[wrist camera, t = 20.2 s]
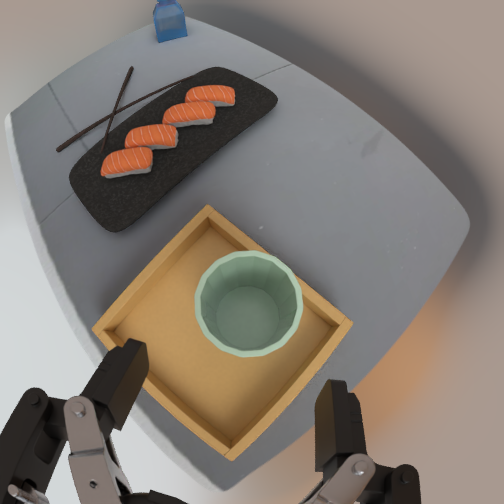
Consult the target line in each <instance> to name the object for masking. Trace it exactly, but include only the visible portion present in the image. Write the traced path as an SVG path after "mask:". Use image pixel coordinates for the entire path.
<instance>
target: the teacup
mask: <svg viewBox="0 0 504 504" xmlns="http://www.w3.org/2000/svg"><path fill="white" fill-rule="evenodd" d="M194 304H195V317H196V319H197V322H198V324H199V326H200V328H201V330H202V332H203V334H204V336H205V337H206V338H207V339H208V340H209V341H211V342H212V343H213V344H214V345H215V346H216V347H217V348H219V349H220V350H221V351H224V352H227V353H230V354H233V355H236V356H239V357H256V356H264V355H267V354H269V353H271V352H273V351H274V350H276V349H278V348H280V347H282V346H283V345H285V344H286V342H287V341H288V340H289V339H290V338H291V336H292V335H293V334H294V333H295V331H296V330H297V329H298V326H299V322H300V319H301V316H302V312H303V299H302V290H301V286H300V285H299V283H298V281H297V279H296V277H295V275H294V274H293V272H292V270H291V269H290V268H289V267H288V266H286V265H285V264H284V263H283V262H281V261H280V260H279V259H278V258H276V257H275V256H272V255H269V254H266V253H263V252H260V251H257V250H249V251H235V252H232V253H230V254H228V255H226V256H224V257H222V258H220V259H217V260H216V261H215V262H214V263H213V264H212V265H211V266H210V267H209V268H208V269H207V270H206V271H205V272H204V273H203V274H202V276H201V278H200V281H199V284H198V286H197V289H196V292H195V294H194Z"/></svg>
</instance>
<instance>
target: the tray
mask: <svg viewBox="0 0 504 504" xmlns="http://www.w3.org/2000/svg"><path fill="white" fill-rule="evenodd" d="M249 250H257V251H260V252H263V253H266V254H269V253H268V252H267V251H265V250H264V249H263V248H262V247H261V246H259V245H258V244H257V243H256V242H254V241H253V240H252V239H251V238H249V237H248V236H247V235H246V234H244V233H243V232H242V231H241V230H239V229H238V228H237V227H236V226H235V225H233V224H232V223H231V222H230V221H228V220H227V219H226V218H225V217H223V216H222V215H221V214H220V213H218V212H217V211H216V210H214V209H213V208H212V207H211V206H210V205H208V204H207V205H206V206H205V207H204V208H203V209H202V210H201V211H200V212H199V213H198V214H197V215H196V216H195V217H194V218H193V219H192V220H191V221H190V222H189V223H188V224H187V225H186V226H185V227H184V228H183V229H182V230H181V231H180V232H179V233H178V234H177V235H176V236H175V237H174V238H173V239H172V240H171V241H170V242H169V243H168V244H167V245H166V246H165V247H164V248H163V249H162V250H161V251H160V252H159V253H158V254H157V256H156V257H155V258H154V259H153V260H152V261H151V262H150V263H149V264H148V265H147V266H146V267H145V268H144V269H143V271H142V272H141V273H140V274H139V275H138V276H137V277H136V278H135V279H134V280H133V281H132V283H131V284H130V285H129V286H128V287H127V288H126V289H125V290H124V292H123V293H122V294H121V295H120V296H119V297H118V298H117V299H116V301H115V302H114V303H113V304H112V305H111V306H110V308H109V309H108V310H107V311H106V312H105V313H104V315H103V316H102V317H101V318H100V319H99V321H98V322H97V323H96V324H95V325H94V327H93V328H92V330H93V332H94V333H95V334H96V335H97V336H98V338H99V339H100V340H101V341H102V342H103V344H104V345H105V346H106V347H107V348H108V350H109V351H110V350H111V349H113V348H114V347H116V346H120V347H123V346H124V344H125V343H126V341H127V340H128V339H129V338H132V339H136V340H139V341H142V342H145V343H146V345H147V352H148V358H149V371H148V375H147V377H146V379H145V381H144V383H143V385H142V387H143V388H144V389H145V390H146V391H147V392H148V393H149V394H150V395H151V396H152V397H154V398H155V399H156V400H157V401H158V402H159V403H160V404H161V405H162V406H163V407H164V408H165V409H166V410H167V411H169V412H170V413H171V414H172V415H173V416H174V417H175V418H176V419H178V420H179V421H180V422H181V423H182V424H183V425H185V426H186V427H187V428H188V429H189V430H191V431H192V432H193V433H194V434H196V435H197V436H198V437H199V438H201V439H202V440H203V441H204V442H206V443H207V444H208V445H210V446H211V447H212V448H214V449H215V450H216V451H218V452H219V453H220V454H222V455H224V457H226V458H227V459H229V460H230V461H233V460H234V459H235V458H237V457H238V456H239V455H240V454H241V453H242V452H243V451H244V450H245V449H246V448H247V447H248V446H249V445H250V444H251V443H252V442H253V441H255V440H256V439H257V438H258V437H259V436H260V435H261V434H262V433H263V432H264V431H265V430H266V428H267V427H268V426H269V425H270V424H271V423H272V422H273V421H274V420H275V419H276V418H277V417H278V416H279V415H280V414H281V413H282V412H283V411H284V409H285V408H286V407H287V406H288V405H289V404H290V403H291V402H292V401H293V399H294V398H295V397H296V396H297V395H298V394H299V393H300V391H301V390H302V389H303V388H304V387H305V386H306V384H307V383H308V382H309V381H310V380H311V378H312V377H313V376H314V375H315V374H316V372H317V371H318V370H319V369H320V367H321V366H322V365H323V364H324V362H325V361H326V360H327V358H328V357H329V356H330V355H331V353H332V352H333V351H334V349H335V348H336V347H337V345H338V344H339V343H340V341H341V340H342V339H343V337H344V336H345V335H346V333H347V332H348V330H349V329H350V328H351V326H352V325H353V322H352V321H351V320H350V319H349V318H347V317H346V316H345V315H344V314H343V313H341V312H340V311H339V310H338V309H336V308H335V307H334V306H333V305H332V304H330V303H329V302H328V301H327V300H326V299H324V298H323V297H322V296H321V295H319V294H318V293H317V292H316V291H315V290H313V289H312V288H311V287H310V286H308V285H307V284H306V283H305V282H304V281H302V280H301V279H300V278H299V277H297V276H296V275H295V274H294V273H293V274H294V275H295V277H296V279H297V281H298V283H299V285H300V286H301V290H302V299H303V312H302V316H301V319H300V322H299V326H298V329H297V330H296V331H295V333H294V334H293V335H292V336H291V338H290V339H289V340H288V341H287V342H286V344H285V345H283V346H282V347H280V348H278V349H276V350H274V351H273V352H271V353H269V354H267V355H264V356H256V357H239V356H236V355H233V354H230V353H227V352H224V351H221V350H220V349H219V348H217V347H216V346H215V345H214V344H213V343H212V342H211V341H209V340H208V339H207V338H206V337H205V336H204V334H203V332H202V330H201V328H200V326H199V324H198V322H197V319H196V317H195V304H194V294H195V292H196V289H197V286H198V284H199V281H200V278H201V276H202V274H203V273H204V272H205V271H206V270H207V269H208V268H209V267H210V266H211V265H212V264H213V263H214V262H215V261H216V260H217V259H220V258H222V257H224V256H226V255H228V254H230V253H232V252H235V251H249ZM269 255H270V254H269Z"/></svg>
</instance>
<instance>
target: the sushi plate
mask: <svg viewBox="0 0 504 504" xmlns="http://www.w3.org/2000/svg"><path fill="white" fill-rule="evenodd" d="M132 71H133V66H132V67H130V69H129V71H128V73H127V76H126V78H125V80H124V83H123V85H122V88H121V91H120V93H119V96H118V99H117V101H116V104H115V107H114V110H113V113H111V114H110V115H108V116H106V117H104V118H102V119H101V120H99V121H97V122H96V123H94V124H92V125H91V126H89V127H87V128H86V129H84V130H83V131H81V132H79V133H78V134H76V135H75V136H73V137H72V138H70V139H69V140H67V141H66V142H65V143H63V144H62V145H60V146H59V147H58V148H57V149H56V151H57V152H59V151H61V150H62V149H64V148H65V147H66V146H68V145H69V144H71V143H72V142H74V141H75V140H76V139H78V138H79V137H81V136H82V135H84V134H85V133H87V132H88V131H90V130H91V129H93V128H95V127H96V126H98V125H99V124H101V123H103V122H104V121H106V120H107V119H109V118H110V121H109V124H108V127H107V130H106V134H105V137H104V138H102V139H101V140H100V141H99V142H98V143H97V144H95V145H94V146H93V147H92V148H91V149H90V150H89V151H88V152H87V153H86V154H84V155H83V156H82V157H81V158H80V159H79V161H78V162H77V163H76V164H75V165H74V167H73V168H72V170H71V172H70V175H69V180H70V184H71V186H72V188H73V190H74V192H75V193H76V195H77V196H78V198H79V199H80V200H81V202H82V203H83V205H84V206H85V207H86V209H87V210H88V211H89V213H90V214H91V215H92V216H93V217H94V219H95V220H96V221H97V222H98V223H99V224H100V225H101V226H102V227H104V228H105V229H106V230H108V231H111V232H118V231H121V230H123V229H125V228H127V227H128V226H130V225H131V224H133V223H134V222H135V221H136V220H137V219H139V218H140V217H141V216H142V215H143V214H144V213H145V212H147V211H148V210H149V209H150V208H151V207H152V206H153V205H154V204H155V203H156V202H158V201H159V200H160V199H161V198H162V197H163V196H164V195H165V194H166V193H168V192H169V191H170V190H171V189H172V188H173V187H174V186H175V185H177V184H178V183H179V182H180V181H181V180H182V179H184V178H185V177H186V176H187V175H188V174H189V173H191V172H192V171H193V170H194V169H195V168H197V167H198V166H199V165H200V164H201V163H203V162H204V161H205V160H206V159H208V158H209V157H210V156H211V155H212V154H214V153H215V152H216V151H218V150H219V149H220V148H221V147H223V146H224V145H225V144H227V143H228V142H229V141H230V140H232V139H233V138H234V137H236V136H237V135H238V134H240V133H241V132H242V131H244V130H245V129H246V128H248V127H249V126H251V125H252V124H253V123H255V122H256V121H257V120H259V119H260V118H261V117H263V116H264V115H265V114H267V113H268V112H269V111H270V110H272V109H273V108H274V107H275V105H276V104H277V101H278V98H277V96H276V95H275V94H274V93H273V92H272V91H270V90H269V89H267V88H266V87H264V86H262V85H260V84H259V83H257V82H255V81H253V80H251V79H249V78H247V77H245V76H243V75H240V74H238V73H236V72H234V71H231V70H228V69H225V68H221V67H212V68H209V69H206V70H203V71H201V72H199V73H197V74H195V75H193V76H190V77H187V78H185V79H182V80H180V81H177V82H175V83H173V84H170V85H168V86H166V87H163V88H161V89H159V90H157V91H155V92H152V93H150V94H148V95H146V96H144V97H142V98H140V99H138V100H136V101H134V102H132V103H130V104H128V105H126V106H124V107H122V108H121V109H119V110H117V111H116V109H117V107H118V104H119V101H120V99H121V96H122V94H123V92H124V89H125V87H126V85H127V82H128V80H129V78H130V76H131V73H132ZM180 82H181V83H180ZM178 83H179V84H178ZM176 84H178V85H176ZM173 85H176V86H174V87H173V88H171V89H170V90H168V91H167V92H165V93H163V94H162V95H160V96H159V97H157V98H156V99H154V100H153V101H151V102H150V103H148V104H147V105H146V106H144V107H143V108H141V109H140V110H139V111H137V112H136V113H134V114H133V115H132V116H130V117H129V118H128V119H126V120H125V121H124V122H122V123H121V124H120V125H119V126H117V127H116V128H115V129H113V130H112V131H111V132H110V133H108V132H109V129H110V126H111V123H112V120H113V118H114V115H116V114H118V113H119V112H121V111H123V110H125V109H126V108H128V107H130V106H132V105H134V104H136V103H138V102H140V101H142V100H144V99H146V98H148V97H150V96H152V95H154V94H156V93H158V92H160V91H162V90H164V89H167V88H169V87H171V86H173Z"/></svg>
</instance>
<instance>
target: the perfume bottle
mask: <svg viewBox="0 0 504 504" xmlns="http://www.w3.org/2000/svg"><path fill="white" fill-rule="evenodd" d="M157 1H158V2H159V3H157V4H156V6H155V9H154V11H153V17H154V24H155V28H156V33H157V37H158V42H159V43H160V42H164V41H168V40H171V39H176V38H180V37H184V36H187V31H186V24H185V17H184V12H183V10H182V7H181V6H180V4H179V3H178V2H177V1H176V0H157Z"/></svg>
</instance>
